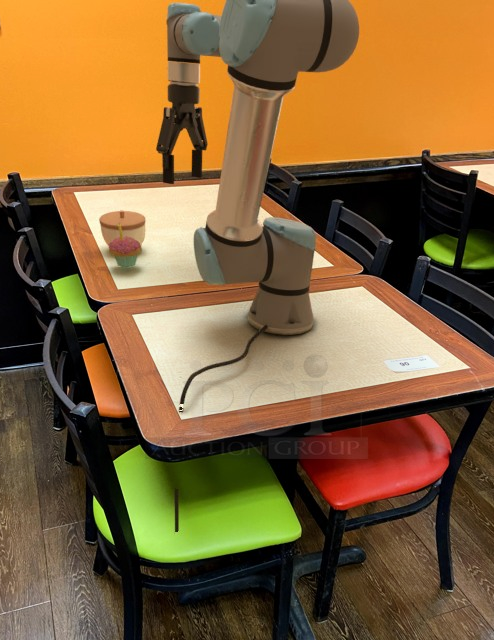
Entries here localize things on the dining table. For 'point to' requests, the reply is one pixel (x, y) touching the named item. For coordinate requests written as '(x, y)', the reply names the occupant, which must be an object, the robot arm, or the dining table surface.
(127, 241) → the cupcake
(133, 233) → the lidded bowl
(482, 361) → the dining table surface
